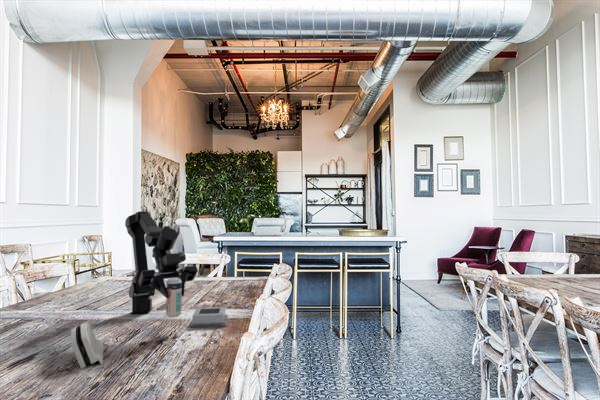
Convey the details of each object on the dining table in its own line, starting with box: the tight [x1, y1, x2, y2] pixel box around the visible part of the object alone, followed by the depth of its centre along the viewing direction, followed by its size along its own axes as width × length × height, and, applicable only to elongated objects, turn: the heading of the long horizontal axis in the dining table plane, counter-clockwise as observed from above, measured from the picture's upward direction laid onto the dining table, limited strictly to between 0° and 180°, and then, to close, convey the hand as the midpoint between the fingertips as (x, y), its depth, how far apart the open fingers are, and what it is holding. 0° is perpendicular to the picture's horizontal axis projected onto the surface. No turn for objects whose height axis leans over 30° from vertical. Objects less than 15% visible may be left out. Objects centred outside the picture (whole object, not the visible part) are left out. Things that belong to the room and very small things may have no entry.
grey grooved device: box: [70, 321, 104, 369], centre depth 104 cm, size 17×5×10 cm, turn 27°
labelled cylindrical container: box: [165, 278, 183, 318], centre depth 125 cm, size 5×5×12 cm
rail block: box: [189, 306, 228, 329], centre depth 136 cm, size 12×12×4 cm
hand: (175, 296), depth 124 cm, fingers closed on labelled cylindrical container, 5 cm apart
